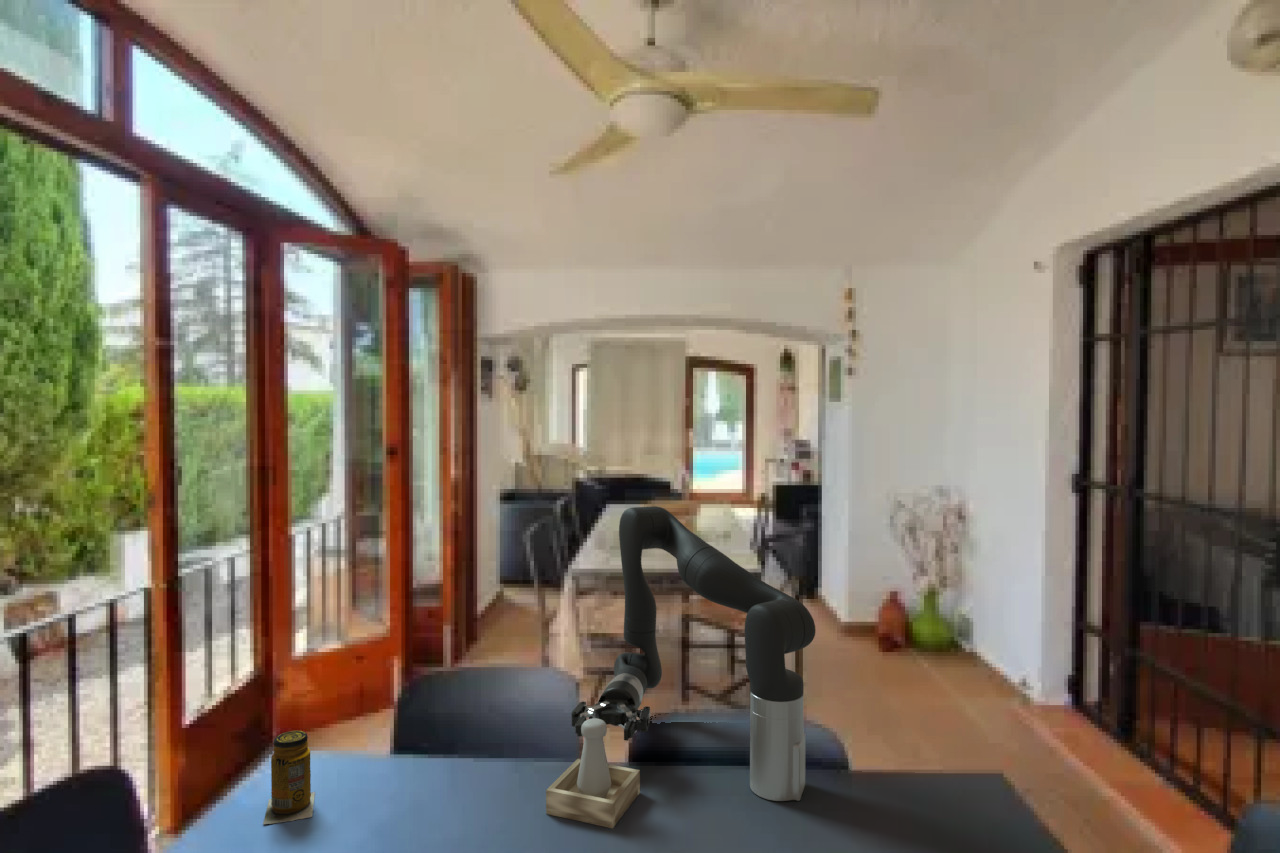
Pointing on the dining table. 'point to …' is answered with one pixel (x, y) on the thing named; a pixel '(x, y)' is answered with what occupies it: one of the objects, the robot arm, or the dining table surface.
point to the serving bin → (590, 809)
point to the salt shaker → (594, 760)
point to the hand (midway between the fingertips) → (602, 733)
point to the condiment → (290, 779)
